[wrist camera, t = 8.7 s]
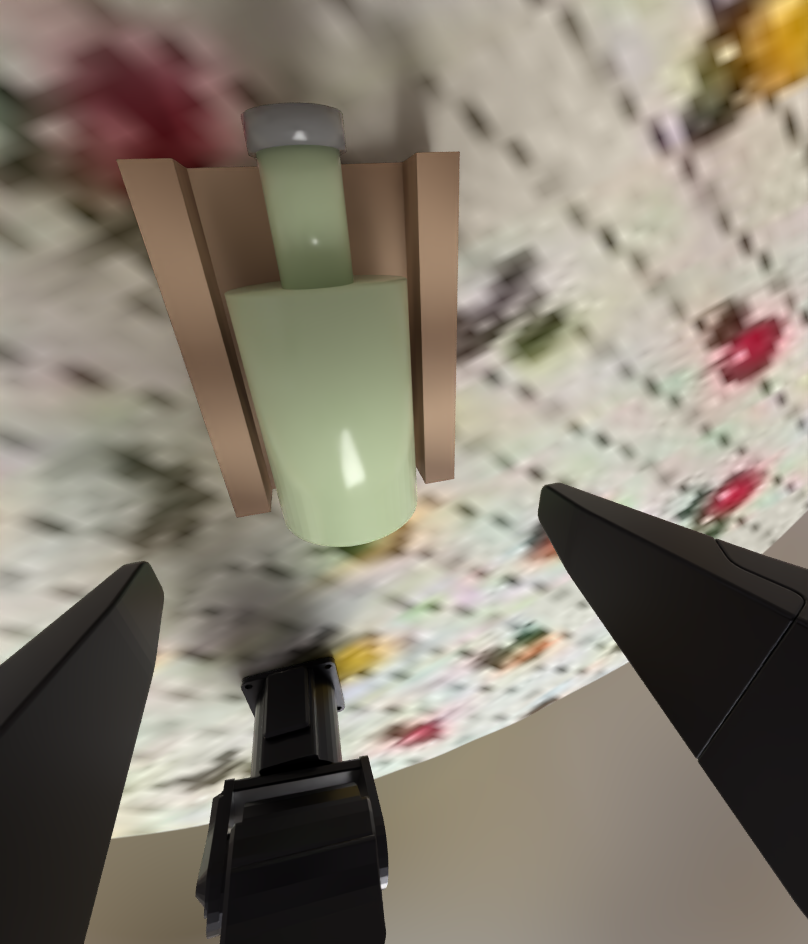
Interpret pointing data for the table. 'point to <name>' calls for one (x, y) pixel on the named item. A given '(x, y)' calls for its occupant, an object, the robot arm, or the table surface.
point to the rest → (254, 262)
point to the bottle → (325, 344)
